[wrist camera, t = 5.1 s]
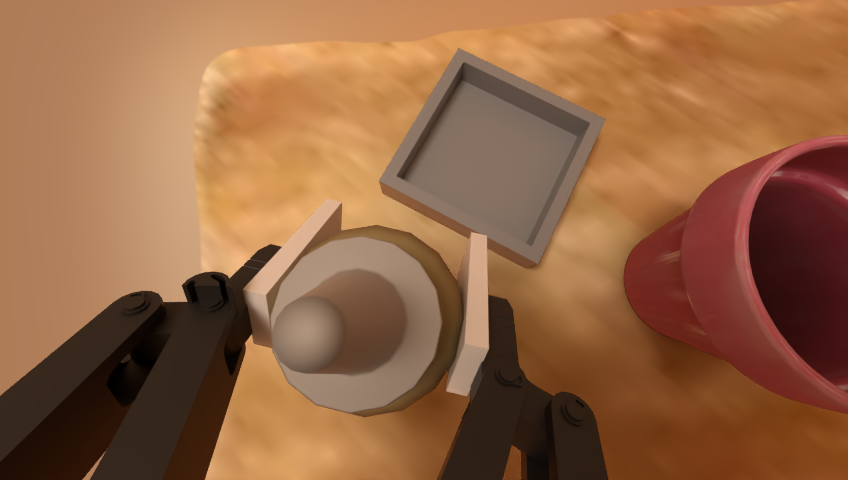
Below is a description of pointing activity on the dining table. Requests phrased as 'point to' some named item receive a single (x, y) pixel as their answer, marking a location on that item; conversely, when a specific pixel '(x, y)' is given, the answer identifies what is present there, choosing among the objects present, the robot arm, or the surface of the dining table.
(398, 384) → the squeeze bottle
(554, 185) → the tray
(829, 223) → the plant pot
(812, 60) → the dining table surface
